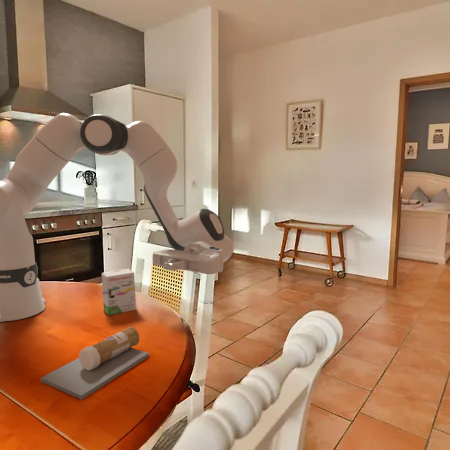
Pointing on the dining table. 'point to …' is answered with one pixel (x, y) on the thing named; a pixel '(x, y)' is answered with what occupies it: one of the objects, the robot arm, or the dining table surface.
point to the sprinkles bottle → (108, 348)
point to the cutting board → (92, 373)
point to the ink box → (118, 291)
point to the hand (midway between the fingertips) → (168, 267)
